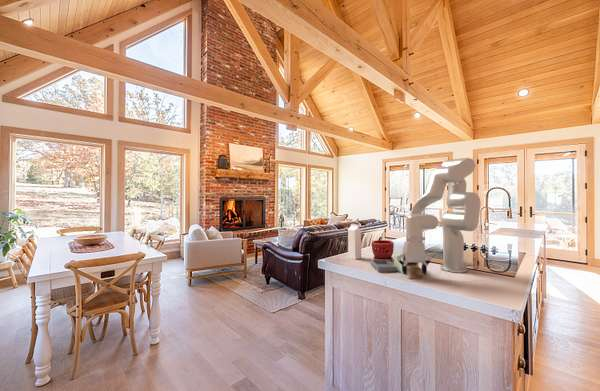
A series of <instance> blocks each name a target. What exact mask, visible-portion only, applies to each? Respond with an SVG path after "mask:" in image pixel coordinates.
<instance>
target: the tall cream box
mask: <svg viewBox="0 0 600 391" xmlns="http://www.w3.org/2000/svg"><path fill="white" fill-rule="evenodd" d="M401 254H402V253H393V264H394V265H395V266H397V272H399V273H401V274H402V275H405V274H404V273H403V272H402V265H401V264H400V263H399V261H398V259H397V256H399V255H401ZM401 261H402V262H403V258H401ZM413 264H415V265H417V266H418V267H420V266H419V263H413Z"/></svg>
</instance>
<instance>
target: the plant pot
mask: <svg viewBox="0 0 600 391" xmlns="http://www.w3.org/2000/svg"><path fill="white" fill-rule="evenodd" d="M394 243H395V242H394V241H392V240H381V239H379V240H372V241H371V250H372V253H373V260H385V259H387V260H389V261H390V262H392V261H394V256H393V255H394V248H395V247H394V246H395V244H394Z"/></svg>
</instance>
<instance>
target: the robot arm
mask: <svg viewBox="0 0 600 391" xmlns="http://www.w3.org/2000/svg"><path fill="white" fill-rule="evenodd" d="M475 169H476V162H475V160H474V159H473V158H470V157H463V158H456V159H448V160H445V161H443V162H441V164H440V167H435V168H434V169H432V170H431V173H430V176H429V178H428V181H427V185H426V189H425V191H424V193H423V195H421V196H420V197H419V198H418V199H417V200H416V201H415V203H414V204H413V206H412V207H411V211H410V214H408V215H406V220H405V221H406V222H405V223H406V224H405V225H406V227H405V228H406V229H405V230H406V235H405V239H406V240H405V241H404V242H403V247H402V253H400V254H401V255H399V256H397V259H398V261H399V263H400V264H401V265H402V272H403V273H404V274H403V275H406V274H407V267H406V265H407V263H418V264H419V263H421V274H423V275H427V267H428V265H429V264H430V263H431V261H432V259H433V257H432V256H431V255H428V254H426V247H425V243H424V241H426V237H425V236H424V235H423V233H424V232H423V230H434V229H436V228H437V227H438V226H439V219H438V217H437V216H436V215H433V214H428V213H427V214H426V213H423V212H424V210H425V209H426V208H427V207H429V205H432V204H433V203H436V202H439V201H440V200H442V198H443V197H444V193H445V189H446V186H448V188H447V193H446V194H447V196H446V206H447V208H449V209H451V210H459V211H446V212H444V213H443V214H442V215H441V217H440V218H441V219H440V222H441V226H442V234H443V235H442V236H443V238H442V241H443V243H442V244H443V247H442V250H443V252H442V253H443V254H442V255H443V264H441V265H440V269H441V270H442V271H444V272H445V271H446V272H450V273H459V274H460V273H461V274H462V273H463V274H464V273H467V272H468V268H467V267H474V264H473V262H467V261H465V258H464V255H465V253H464V252H465V251H464V248H465V246H464V245H465V244H464V241H465V238H464V235H463V233H462V232H463V231H464V232H473V231H474V232H475V230H477V227H479V226H478V225H479V220H480V212H481V203H482V202H481V197H480V196H479V195H478V194H477V193H475V192H474V191H473V192H472V191H467V181H466V179H465V178H467V177H468V176H470V175H471V174H472V173H473V172H474V171H475ZM447 184H448V185H447ZM460 210H461V211H462V210H463V211H464V212H463V211H462V212H461V211H460ZM401 258H403V262H402V261H401ZM426 258H427V259H426Z"/></svg>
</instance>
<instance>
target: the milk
mask: <svg viewBox="0 0 600 391" xmlns="http://www.w3.org/2000/svg"><path fill="white" fill-rule="evenodd" d="M347 244H348V245H347V247H348V249H347V254H348V255H347V256H348V257H347V258H349V259H351V260H358V259H362V229H361V228H360V227H359V225H358V224H354V223H351V224H350V226H349V227H348V229H347Z"/></svg>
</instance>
